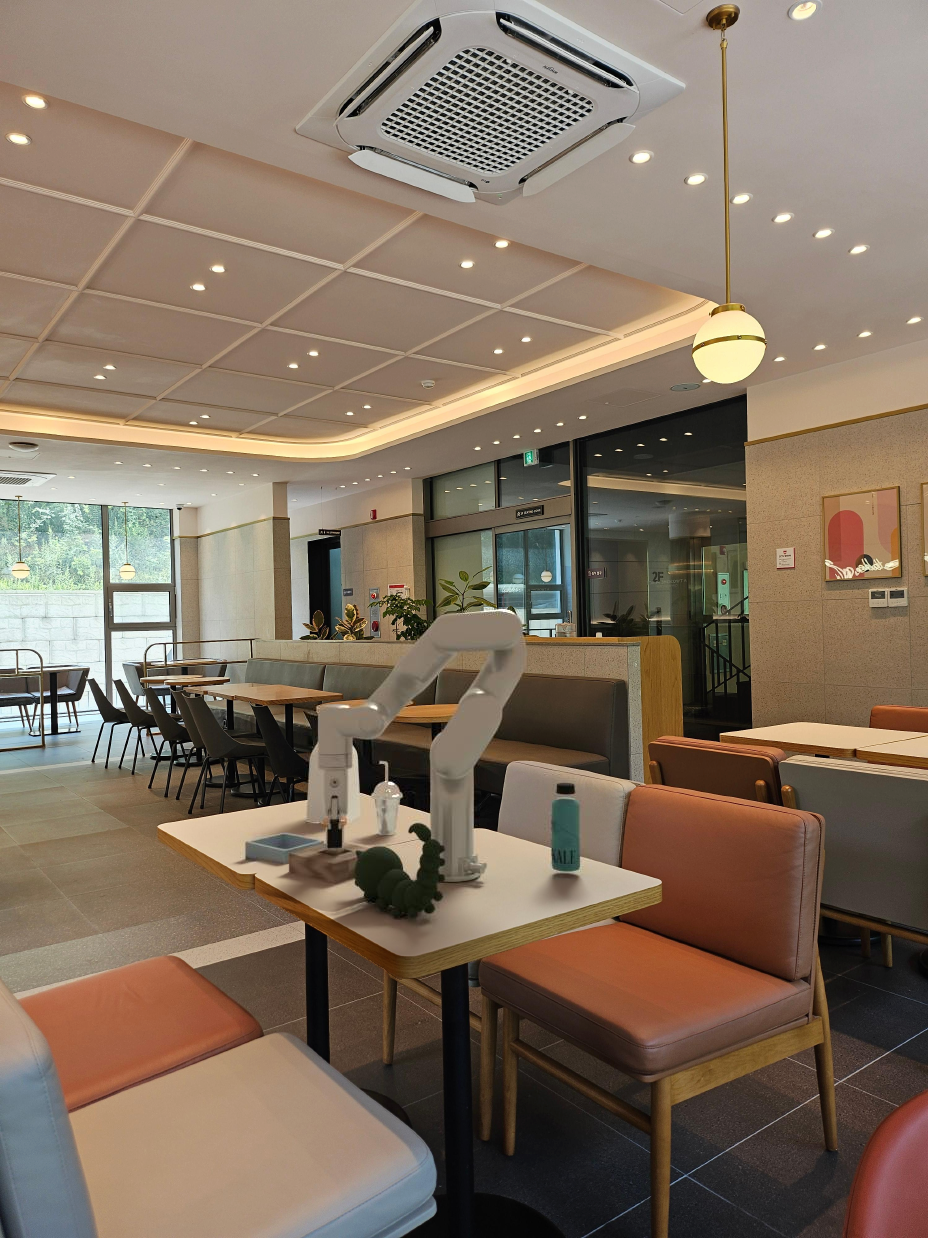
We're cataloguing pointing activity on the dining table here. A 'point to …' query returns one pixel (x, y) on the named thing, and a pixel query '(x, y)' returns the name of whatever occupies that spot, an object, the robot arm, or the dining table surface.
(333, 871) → the square wooden block
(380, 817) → the cup with straw
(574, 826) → the beverage bottle
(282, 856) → the tray
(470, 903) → the dining table surface
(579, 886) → the dining table surface
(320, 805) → the milk
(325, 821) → the copper capped shaker
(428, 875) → the toy figurine
